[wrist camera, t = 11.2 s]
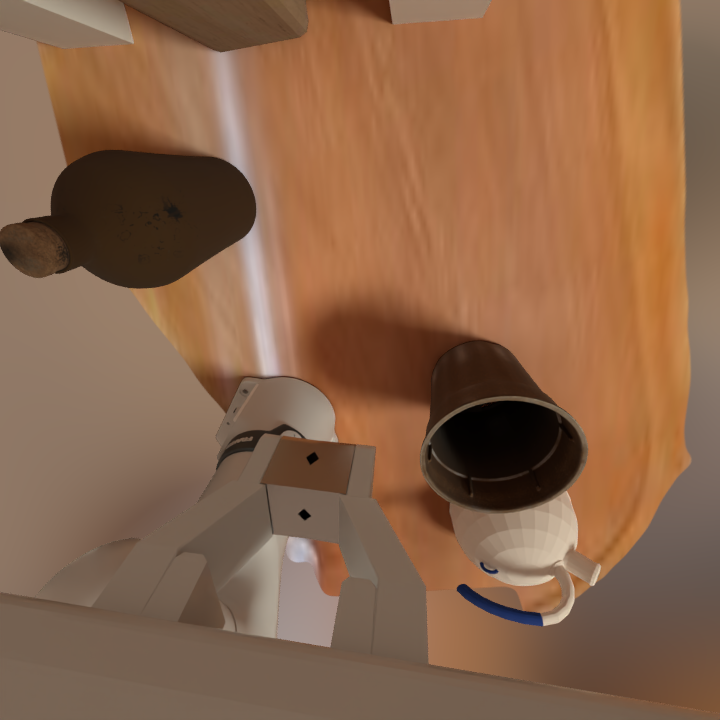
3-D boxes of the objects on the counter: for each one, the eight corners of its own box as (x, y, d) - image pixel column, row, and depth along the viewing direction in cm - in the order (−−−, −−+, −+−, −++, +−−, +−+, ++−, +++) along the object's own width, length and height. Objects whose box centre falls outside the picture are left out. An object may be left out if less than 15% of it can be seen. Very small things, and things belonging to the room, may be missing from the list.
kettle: (568, 543, 66) (616, 664, 50) (452, 544, 70) (464, 655, 54) (578, 464, 56) (642, 583, 40) (443, 470, 60) (454, 580, 45)
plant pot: (495, 300, 44) (532, 366, 31) (560, 384, 49) (619, 475, 35) (394, 369, 51) (388, 449, 37) (461, 437, 56) (477, 531, 42)
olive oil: (204, 127, 39) (-49, 96, 17) (279, 202, 42) (140, 255, 20) (160, 201, 43) (-84, 249, 22) (230, 264, 46) (75, 361, 25)
